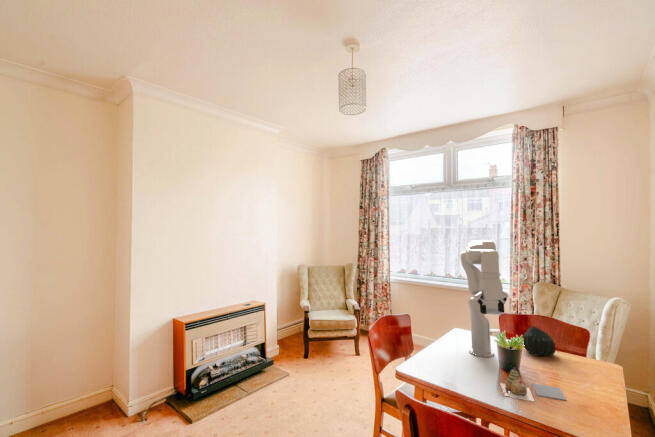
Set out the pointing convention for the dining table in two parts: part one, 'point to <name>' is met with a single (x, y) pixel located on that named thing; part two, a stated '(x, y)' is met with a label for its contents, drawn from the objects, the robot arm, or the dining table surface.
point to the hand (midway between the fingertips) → (492, 312)
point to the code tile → (524, 397)
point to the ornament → (515, 383)
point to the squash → (538, 342)
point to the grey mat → (548, 392)
